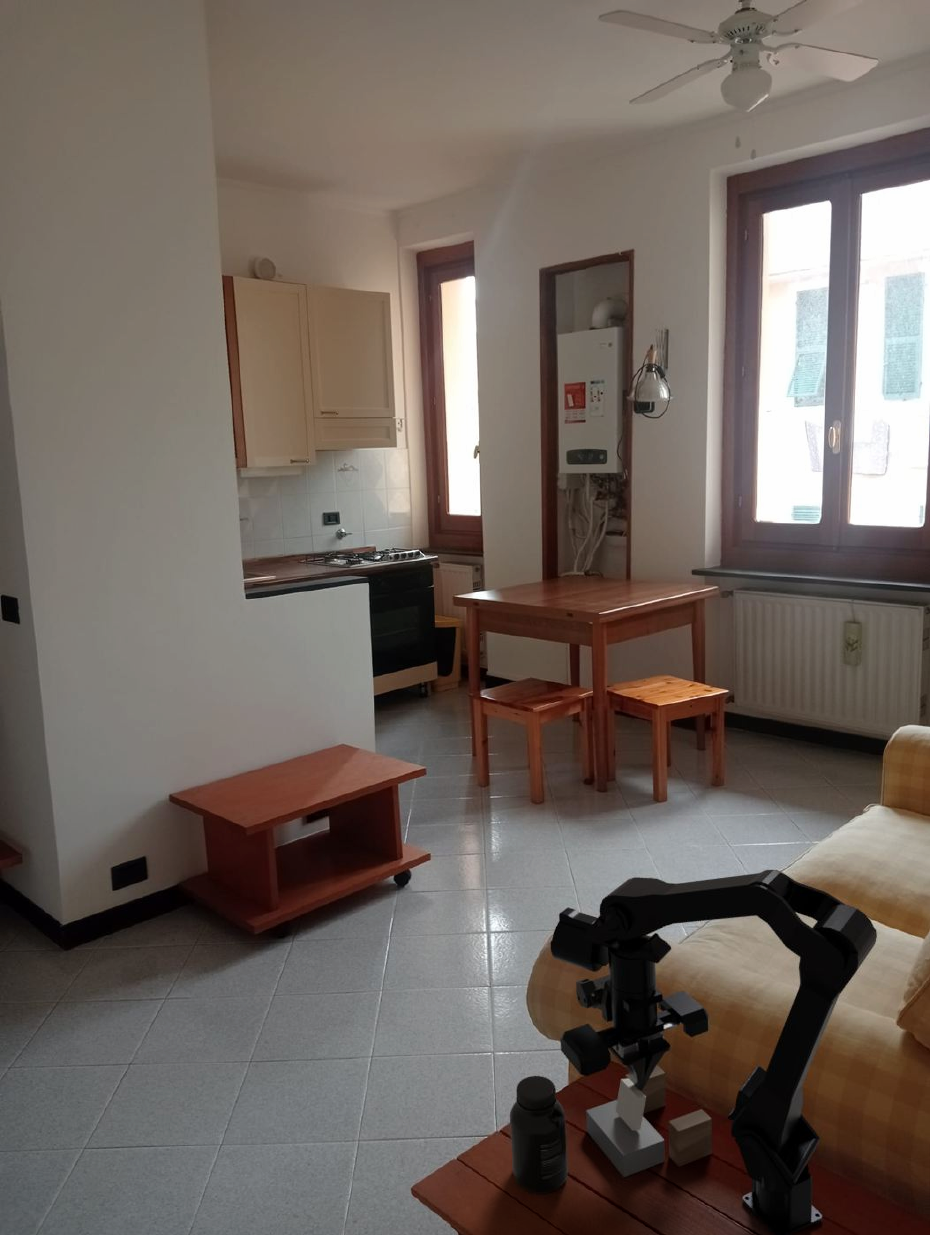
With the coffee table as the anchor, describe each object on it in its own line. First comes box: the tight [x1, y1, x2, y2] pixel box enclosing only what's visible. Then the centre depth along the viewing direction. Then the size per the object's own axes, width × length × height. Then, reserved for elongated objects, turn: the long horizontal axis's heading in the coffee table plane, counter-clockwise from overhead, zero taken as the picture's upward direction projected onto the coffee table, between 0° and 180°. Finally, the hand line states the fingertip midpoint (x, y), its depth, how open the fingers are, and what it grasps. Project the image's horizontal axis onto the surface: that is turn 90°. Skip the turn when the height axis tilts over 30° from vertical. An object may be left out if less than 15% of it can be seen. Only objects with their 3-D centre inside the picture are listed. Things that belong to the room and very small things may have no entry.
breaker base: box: [585, 1099, 666, 1178], centre depth 122 cm, size 9×6×3 cm, turn 23°
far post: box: [624, 1064, 666, 1115], centre depth 129 cm, size 2×5×5 cm, turn 113°
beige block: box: [668, 1108, 713, 1167], centre depth 119 cm, size 2×5×5 cm, turn 113°
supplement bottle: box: [509, 1075, 569, 1194], centre depth 117 cm, size 7×7×12 cm
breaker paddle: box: [616, 1078, 646, 1131], centre depth 121 cm, size 4×1×4 cm, turn 23°
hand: (638, 1089), depth 122 cm, fingers closed, pressing on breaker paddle
